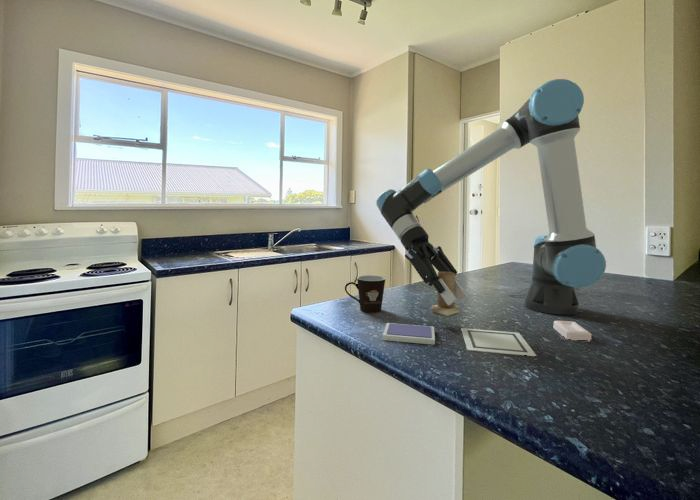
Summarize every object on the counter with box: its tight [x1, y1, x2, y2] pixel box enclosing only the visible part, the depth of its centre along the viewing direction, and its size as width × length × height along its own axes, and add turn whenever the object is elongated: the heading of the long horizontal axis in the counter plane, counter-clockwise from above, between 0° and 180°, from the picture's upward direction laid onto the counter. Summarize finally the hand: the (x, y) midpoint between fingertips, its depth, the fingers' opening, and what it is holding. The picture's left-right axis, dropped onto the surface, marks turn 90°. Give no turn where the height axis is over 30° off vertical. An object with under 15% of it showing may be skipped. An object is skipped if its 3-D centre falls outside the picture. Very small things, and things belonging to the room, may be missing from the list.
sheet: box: [460, 327, 537, 357], centre depth 81 cm, size 14×14×1 cm
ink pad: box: [382, 322, 436, 346], centre depth 84 cm, size 12×9×1 cm
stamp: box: [431, 271, 460, 318], centre depth 91 cm, size 5×5×11 cm
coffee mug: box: [344, 274, 386, 314], centre depth 105 cm, size 12×9×10 cm
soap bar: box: [552, 320, 593, 342], centre depth 86 cm, size 5×9×2 cm, turn 169°
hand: (458, 300), depth 88 cm, fingers closed on stamp, 4 cm apart
